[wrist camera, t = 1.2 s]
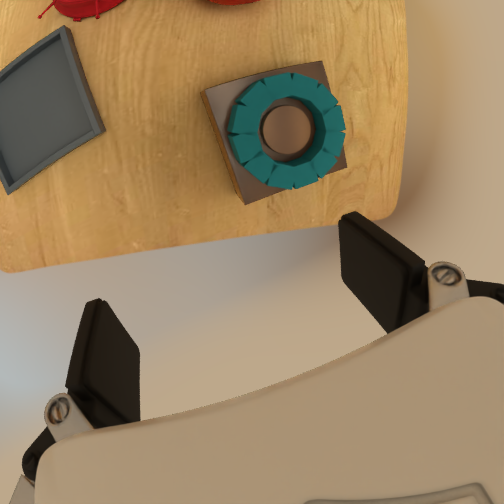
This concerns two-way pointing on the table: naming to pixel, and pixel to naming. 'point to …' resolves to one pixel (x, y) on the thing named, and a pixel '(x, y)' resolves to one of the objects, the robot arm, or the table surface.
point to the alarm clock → (82, 7)
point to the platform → (266, 128)
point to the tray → (44, 108)
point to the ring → (325, 137)
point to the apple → (233, 2)
